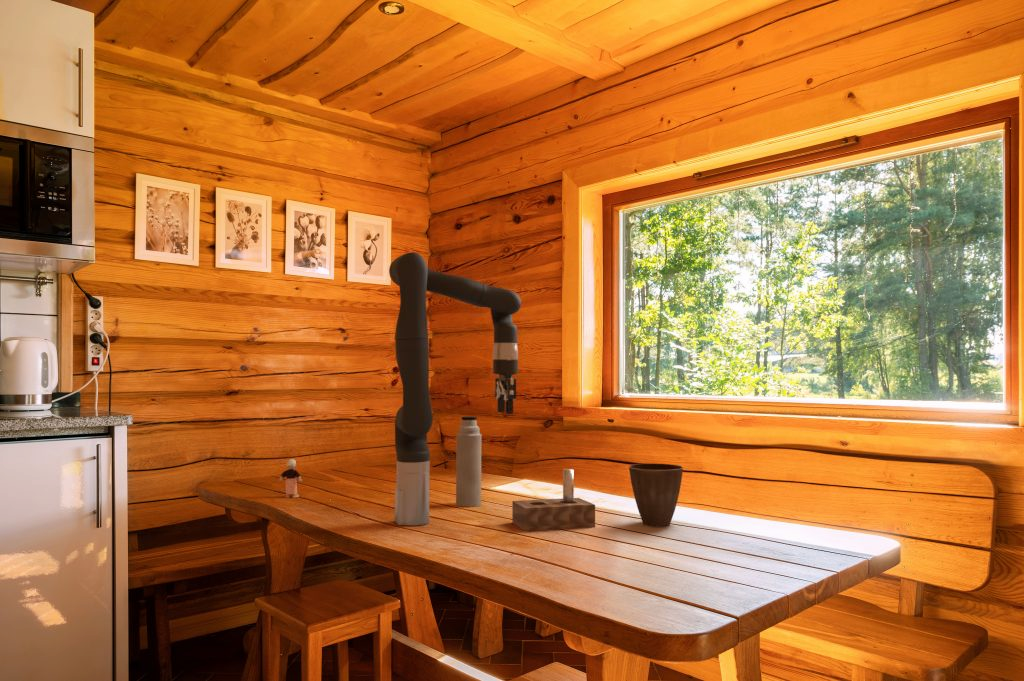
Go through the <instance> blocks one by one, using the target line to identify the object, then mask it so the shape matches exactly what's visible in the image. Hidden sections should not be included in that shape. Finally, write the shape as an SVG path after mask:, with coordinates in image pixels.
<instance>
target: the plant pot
mask: <svg viewBox="0 0 1024 681" xmlns="http://www.w3.org/2000/svg"><path fill="white" fill-rule="evenodd" d="M628 470H629V477H630V484H631V488H632V492H633V496H634V500H635V504H636V507H637V510H638V513H639V517H640V518H641V521H642V523H643V525H644V526H649V527H650V526H651V527H667V526H670V525H671V523H672V519H673V516H674V514H675V510H676V507H677V504H678V502H679V501H678V500H679V496H680V492H681V485H682V481H683V480H682V479H683V472H684V471H683V470H684V466H682V465H679V464H670V463H636V464H635V463H634V464H630V465H629V466H628Z"/></svg>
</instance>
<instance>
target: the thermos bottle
mask: <svg viewBox="0 0 1024 681" xmlns="http://www.w3.org/2000/svg"><path fill="white" fill-rule="evenodd" d="M477 420H478V417H477V416H462V417H461V425H460V426H458V433H456V452H455V453H456V456H455V457H456V459H455V460H456V464H455V465H456V466H455V468H456V470H455V471H456V472H455V474H456V478H455V482H456V484H455V506H457V505H458V506H457V507H461V506H470V507H469V508H473V507H472V506H476V507H479V505H480V506H482V437H483V436H482V433H480V430H481V429H480V427H479V426H478V425H477V424H478V421H477Z"/></svg>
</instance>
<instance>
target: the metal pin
mask: <svg viewBox="0 0 1024 681" xmlns="http://www.w3.org/2000/svg"><path fill="white" fill-rule="evenodd" d="M574 472H575V469H573V468H563V469H562V499H563V503H564V504H567V503H574V498H575V496H574V495H575V483H574V481H575V474H574Z"/></svg>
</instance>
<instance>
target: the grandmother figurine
mask: <svg viewBox="0 0 1024 681" xmlns="http://www.w3.org/2000/svg"><path fill="white" fill-rule="evenodd" d="M296 465H297V462H296V460H295V459H293V458H291V459H288V460H287V461H286V463H285V466H286V467H287V470H285V471H283V472H282V473H281V474H280V477H279V479H278V480H279V482H282V481H283V479H284V478H285V498H293V499H295V498H299V497H300V494H298V487H297V486H298V485H297V484H298V483H297V482H299V483H301V482H303V479H302V478H301V474H300V473H299V471H298V470H296V469H295V468H296ZM297 480H298V481H297Z"/></svg>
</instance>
